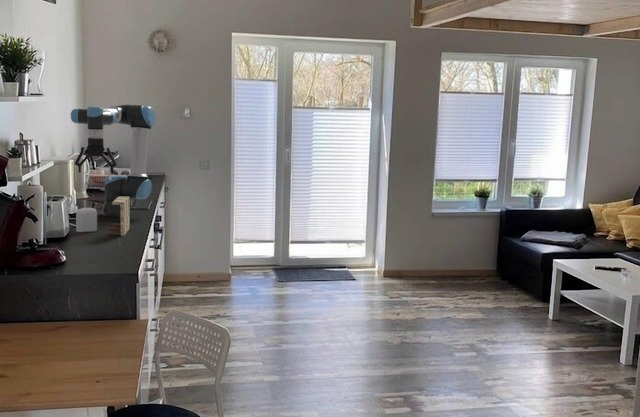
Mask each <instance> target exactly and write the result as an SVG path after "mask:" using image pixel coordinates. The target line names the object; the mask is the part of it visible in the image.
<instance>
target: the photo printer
mask: <svg viewBox="0 0 640 417" xmlns="http://www.w3.org/2000/svg"><path fill="white" fill-rule="evenodd" d="M75 228H76V229H75V230H76V231H75V232H76V233H88V232H97V231H98V212H97V209H96V208H93V207H83V208H78V209H77V210H76V212H75Z"/></svg>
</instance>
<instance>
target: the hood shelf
mask: <svg viewBox="0 0 640 417" xmlns="http://www.w3.org/2000/svg"><path fill="white" fill-rule="evenodd" d="M130 199H131V198H130V197H121V196H119V197H118V198H116V199H115V200H114V201H113V202H112V205H120V206H121V217H120V223H111V228H110V227H107V235H112V236H113V235H116V236H117V235H118V236H119V235H120V237H124V236H125V235H126V234H127V233H128V231H130V228H131V225H130V217H131V216H130V214H131V213H130V211H131V210H130V202H131V200H130Z"/></svg>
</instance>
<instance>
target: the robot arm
mask: <svg viewBox="0 0 640 417" xmlns="http://www.w3.org/2000/svg"><path fill="white" fill-rule="evenodd" d="M70 119H71V122H72V123H74V124H81V125H83V124H84V125H85V124H86V125H87V146H86V147H85V146H81V147H80V152H79V154H78V156H77V158H76V160H75V162H74V165H75V166H78V173H80V180H84V178H85V177H84V165H83V164H84V163H85V162H86V161H87V160H88V159H89V158H90V157H91V156H92V157H101V158H102V159H103V160H104V162H106V163H107V165H108V166H109V167H108V176H107V177H105V179H104V184H103V185H104V204H103V207H102V210H101V215H102V217H110V218H121V206H120V205H112V202H113V201H114V200H115V199H116V198H118V197H119V196H121V197H130V199H133V200H134V199H135V200H146V199H147V198H148V197H149V196H150V195H151V192H152V187H153V185H152V181H151V180H150V179H149V176H148V174H147V159H148V144H149V143H148V142H149V132H150V131H151V130H152V127H154V126H155V125H156V122H157V117H156V113H155V110H154V108H153V107H152V106H149V105H142V104H141V105H140V104H121V105H112V106H109V107H108V108H107V107H106V108H105V107H104V108H103V107H102V106H88V107H87V108H73V109H72V110H71V112H70ZM113 124H120V125H127V126H130V129H131V131H132V143H131V156H130V173H128V174H127V176H126V175H125V174H119V175H118V174H117V175H112V174H114V167H116V166H118V163H117V160H116V159H115V157H114V155H113V153H112V152H111V148H110V147H109V146H108V147H104V146H105V145H104V141H105V140H104V126H110V125H113ZM86 151H87V154H86V156H85V157H84V158H83V159H82V157H83V155H84V153H85V152H86ZM104 152H106V153H107V155H108V157H109V158H110V159H109V158H108V157H107V156H106V155H105V153H104ZM81 159H82V160H81ZM80 160H81V161H80ZM111 161H112V162H111Z"/></svg>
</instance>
